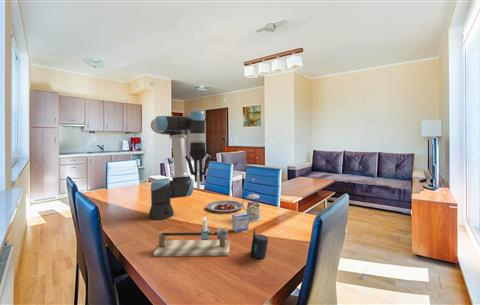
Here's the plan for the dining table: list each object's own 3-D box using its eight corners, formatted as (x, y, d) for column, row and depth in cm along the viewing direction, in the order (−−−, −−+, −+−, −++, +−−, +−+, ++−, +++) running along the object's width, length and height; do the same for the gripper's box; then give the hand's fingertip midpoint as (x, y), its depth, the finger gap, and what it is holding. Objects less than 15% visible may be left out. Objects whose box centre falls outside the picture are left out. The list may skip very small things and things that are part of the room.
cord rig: (153, 256, 102) (152, 236, 101) (162, 243, 114) (162, 225, 113) (228, 255, 102) (228, 235, 101) (229, 242, 114) (229, 224, 113)
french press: (260, 222, 141) (260, 180, 139) (241, 220, 143) (240, 179, 141) (262, 216, 150) (262, 177, 148) (244, 215, 153) (243, 176, 151)
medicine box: (235, 232, 126) (235, 216, 125) (232, 229, 130) (231, 214, 129) (248, 229, 130) (248, 214, 129) (244, 226, 133) (244, 211, 133)
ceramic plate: (248, 212, 160) (248, 207, 160) (209, 216, 153) (209, 211, 153) (237, 202, 185) (237, 198, 184) (204, 205, 177) (204, 201, 177)
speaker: (246, 256, 100) (248, 232, 99) (250, 251, 105) (253, 228, 105) (263, 262, 97) (266, 237, 96) (267, 256, 102) (270, 232, 102)
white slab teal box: (201, 240, 105) (200, 220, 105) (202, 236, 110) (202, 217, 109) (208, 240, 105) (207, 220, 105) (209, 236, 110) (208, 217, 109)
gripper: (183, 142, 117) (184, 190, 118) (209, 142, 117) (210, 189, 118) (186, 141, 124) (187, 186, 126) (211, 141, 124) (212, 186, 126)
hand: (198, 188), depth 122 cm, fingers closed
